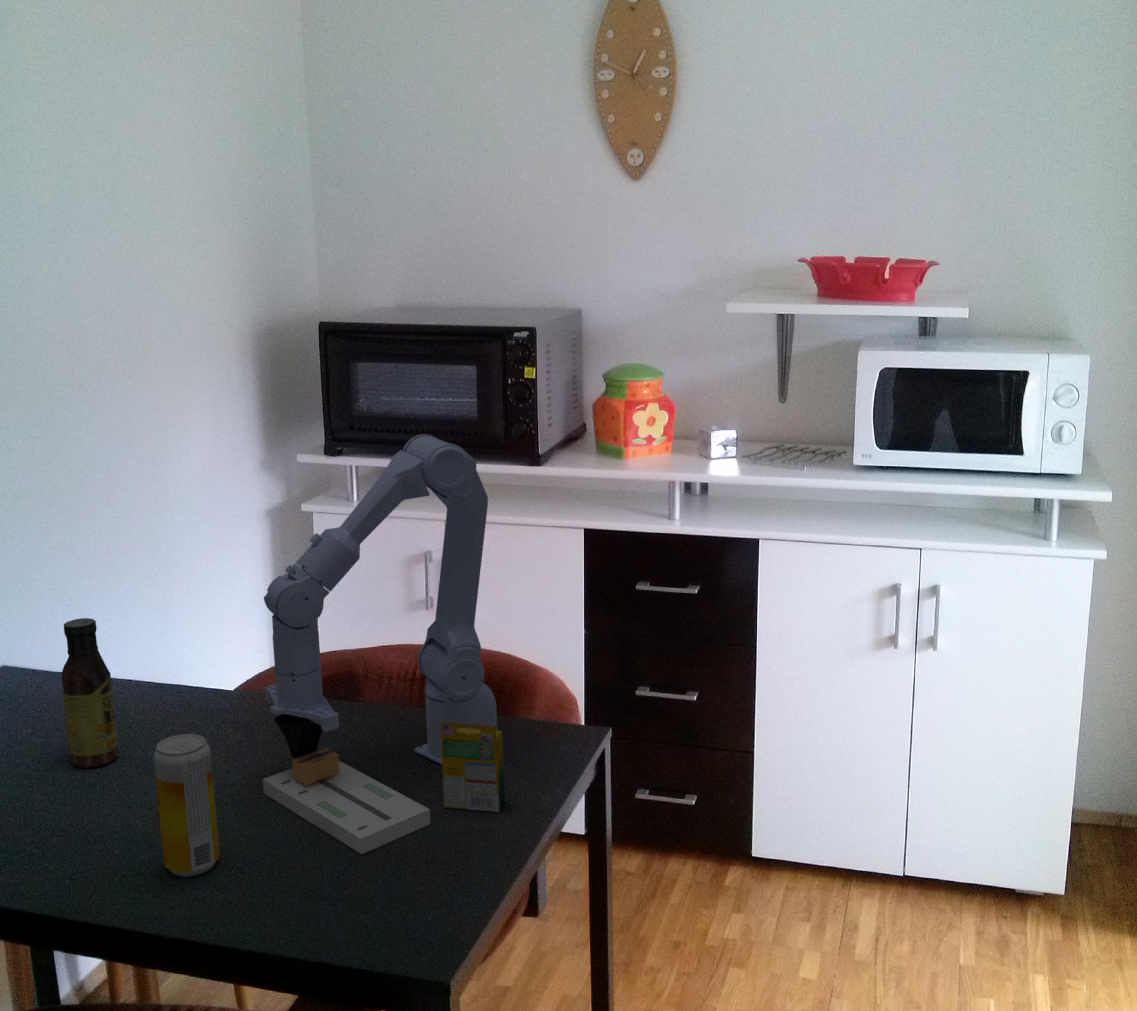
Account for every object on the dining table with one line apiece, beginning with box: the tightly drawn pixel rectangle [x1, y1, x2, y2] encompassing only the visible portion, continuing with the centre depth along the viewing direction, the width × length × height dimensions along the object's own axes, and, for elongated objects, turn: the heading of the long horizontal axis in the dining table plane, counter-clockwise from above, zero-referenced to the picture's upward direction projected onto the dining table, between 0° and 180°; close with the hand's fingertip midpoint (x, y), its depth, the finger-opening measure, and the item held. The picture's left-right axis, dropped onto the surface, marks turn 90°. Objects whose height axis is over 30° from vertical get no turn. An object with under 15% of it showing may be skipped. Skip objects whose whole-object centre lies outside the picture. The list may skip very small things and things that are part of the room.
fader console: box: [262, 760, 431, 855], centre depth 149 cm, size 10×22×2 cm, turn 44°
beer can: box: [153, 733, 220, 877], centre depth 135 cm, size 6×6×15 cm
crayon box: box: [441, 722, 506, 813], centre depth 148 cm, size 7×3×12 cm, turn 78°
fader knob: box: [291, 747, 340, 785], centre depth 153 cm, size 5×3×3 cm, turn 134°
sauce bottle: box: [61, 617, 119, 768], centre depth 162 cm, size 6×6×20 cm
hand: (305, 766), depth 155 cm, fingers closed
